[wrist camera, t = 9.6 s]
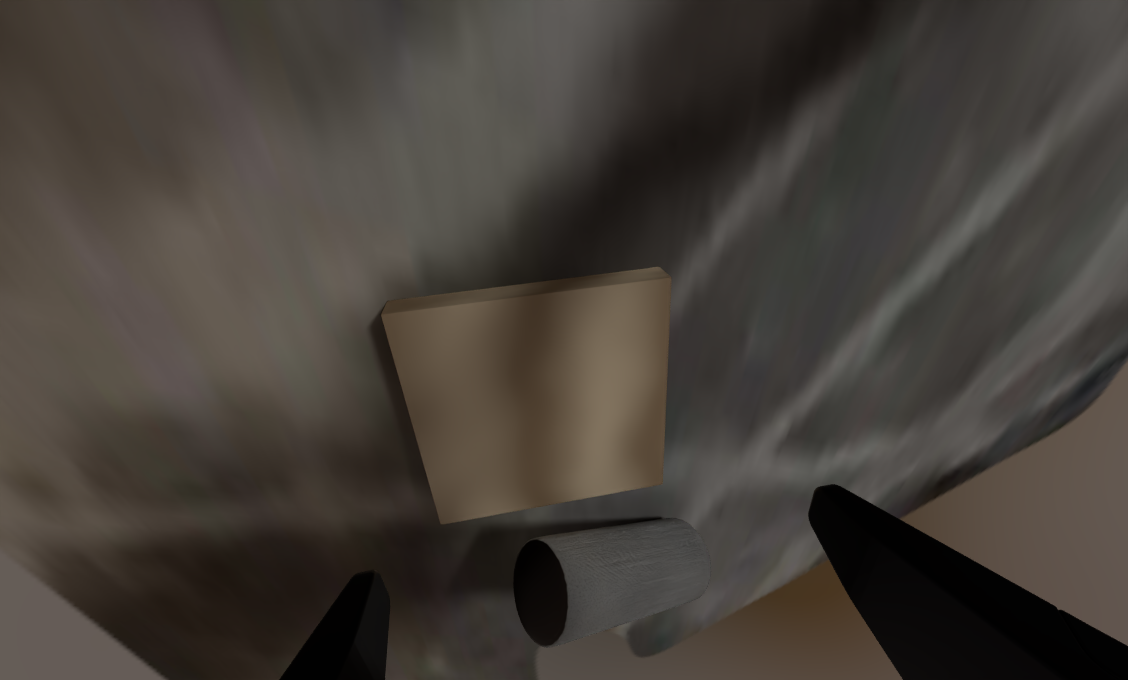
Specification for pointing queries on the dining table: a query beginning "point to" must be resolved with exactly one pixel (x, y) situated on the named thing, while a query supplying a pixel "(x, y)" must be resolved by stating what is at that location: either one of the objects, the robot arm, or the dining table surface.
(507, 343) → the oak block
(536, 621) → the grey hollow cylinder
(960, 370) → the dining table surface
